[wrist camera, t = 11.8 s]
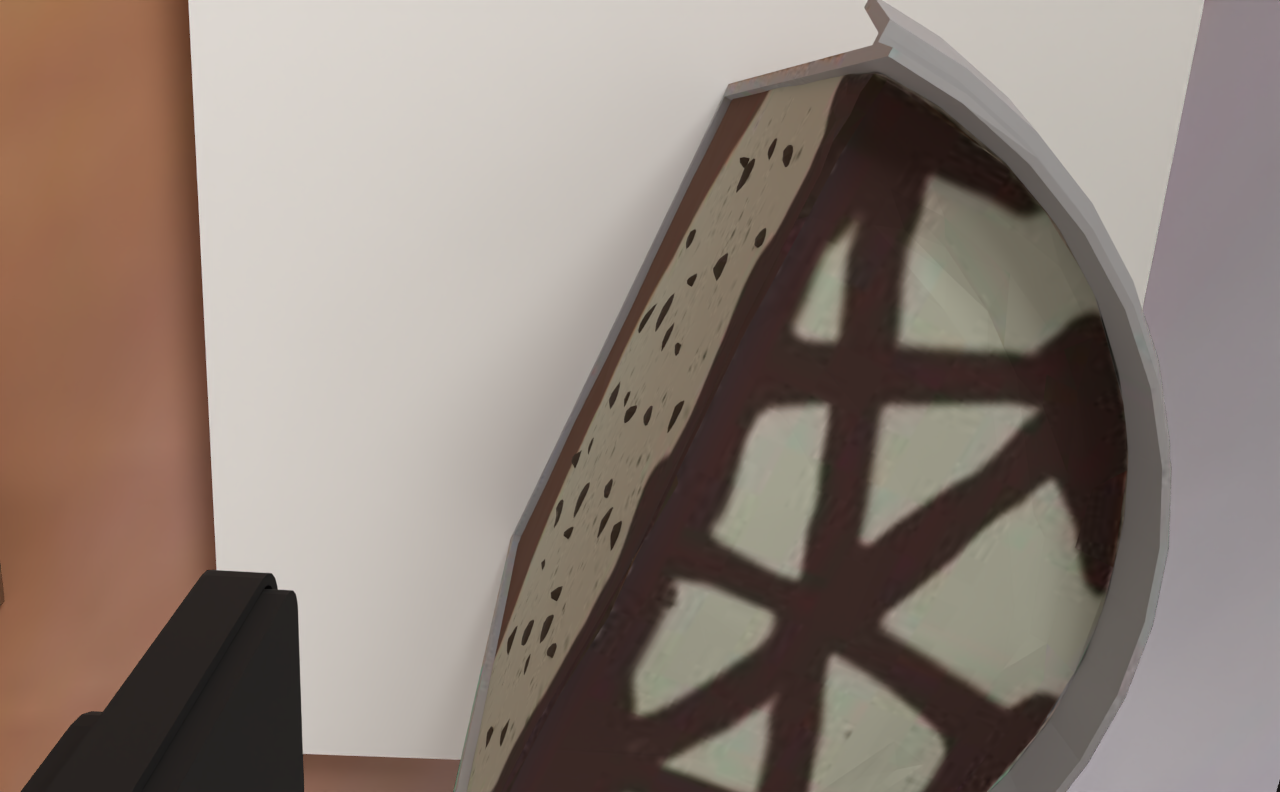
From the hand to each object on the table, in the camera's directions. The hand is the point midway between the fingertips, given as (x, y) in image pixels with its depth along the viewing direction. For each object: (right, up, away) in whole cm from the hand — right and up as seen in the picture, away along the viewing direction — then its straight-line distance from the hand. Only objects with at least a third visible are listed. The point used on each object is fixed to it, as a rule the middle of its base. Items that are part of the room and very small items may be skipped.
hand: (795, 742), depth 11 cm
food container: (+1, +3, +11) cm, 12 cm away
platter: (-1, +3, +12) cm, 13 cm away
